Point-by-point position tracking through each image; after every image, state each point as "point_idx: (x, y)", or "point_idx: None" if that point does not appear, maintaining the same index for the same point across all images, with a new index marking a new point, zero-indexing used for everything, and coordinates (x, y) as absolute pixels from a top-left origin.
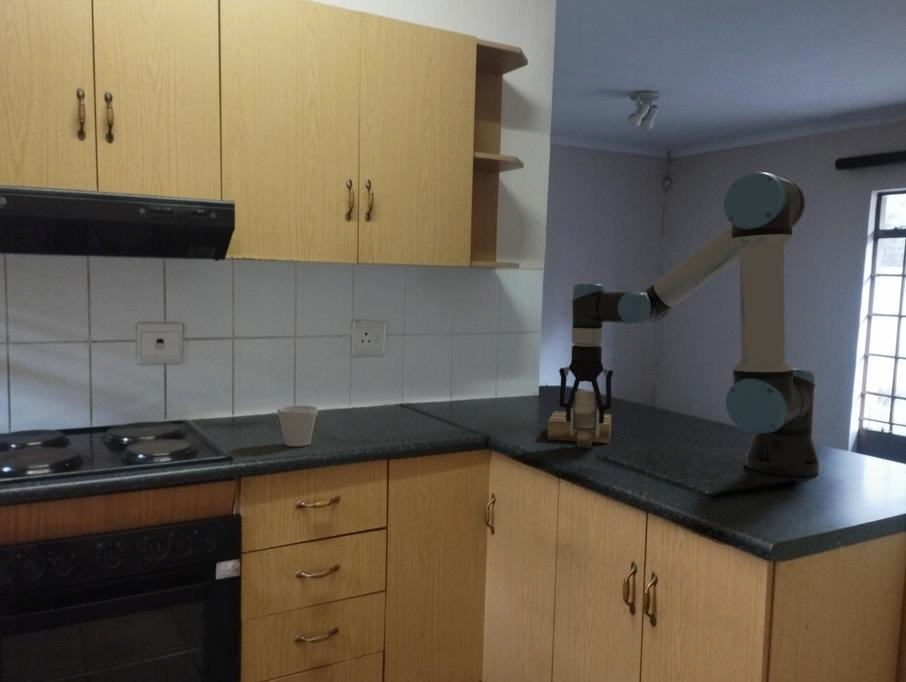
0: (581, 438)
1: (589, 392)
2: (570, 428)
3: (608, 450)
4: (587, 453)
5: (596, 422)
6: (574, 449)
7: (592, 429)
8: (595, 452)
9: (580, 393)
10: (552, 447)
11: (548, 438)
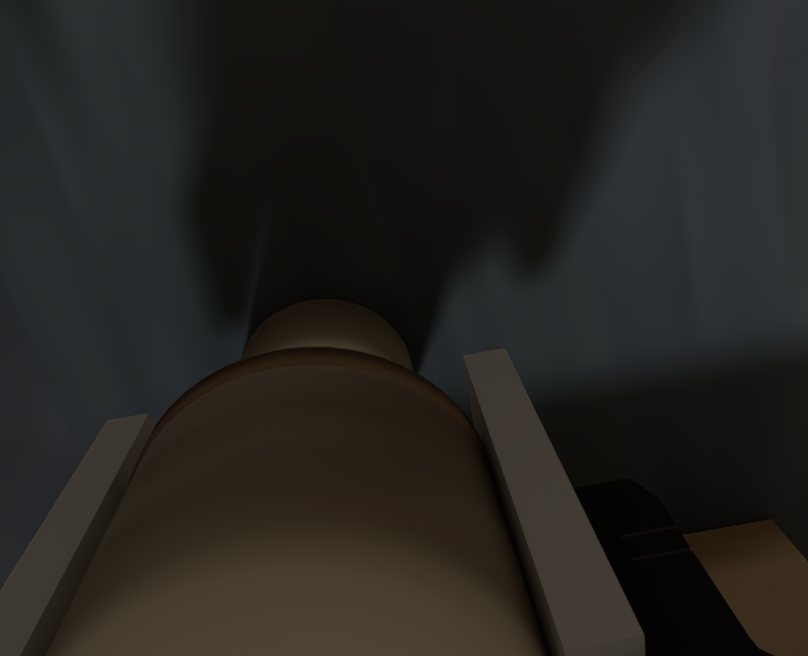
0: (337, 342)
1: None
2: (525, 397)
3: (14, 327)
4: (177, 39)
5: (61, 555)
6: (394, 187)
7: (152, 434)
8: (107, 148)
9: None
10: (669, 166)
11: (766, 525)
